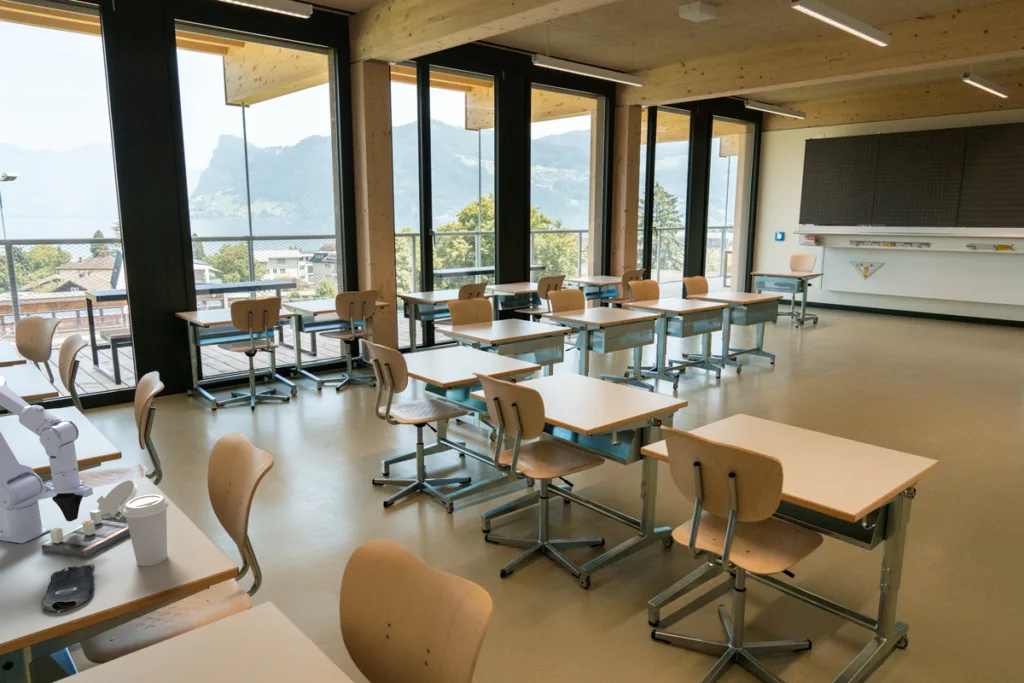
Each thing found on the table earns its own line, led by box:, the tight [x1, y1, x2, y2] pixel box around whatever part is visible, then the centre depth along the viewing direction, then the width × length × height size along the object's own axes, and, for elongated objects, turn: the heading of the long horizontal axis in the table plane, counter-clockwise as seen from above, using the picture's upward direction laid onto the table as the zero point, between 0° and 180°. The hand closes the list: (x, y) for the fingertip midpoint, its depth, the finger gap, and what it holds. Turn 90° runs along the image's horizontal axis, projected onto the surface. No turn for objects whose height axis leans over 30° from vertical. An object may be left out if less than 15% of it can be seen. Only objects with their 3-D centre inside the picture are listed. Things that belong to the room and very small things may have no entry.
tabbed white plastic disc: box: [96, 479, 139, 520], centre depth 189 cm, size 15×8×11 cm, turn 47°
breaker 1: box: [49, 527, 64, 543], centre depth 167 cm, size 2×2×3 cm
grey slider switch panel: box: [40, 519, 131, 560], centre depth 171 cm, size 14×15×2 cm
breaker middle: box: [81, 519, 95, 535], centre depth 171 cm, size 2×2×4 cm
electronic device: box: [40, 563, 96, 614], centre depth 147 cm, size 9×6×15 cm
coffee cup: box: [122, 493, 169, 567], centre depth 160 cm, size 10×10×15 cm
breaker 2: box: [89, 509, 103, 524], centre depth 177 cm, size 2×2×3 cm
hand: (72, 519), depth 172 cm, fingers closed
